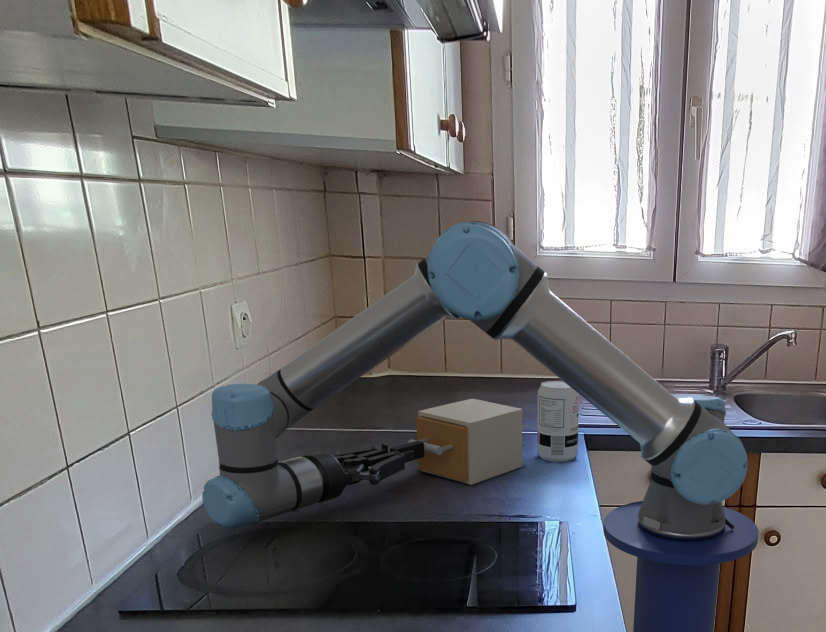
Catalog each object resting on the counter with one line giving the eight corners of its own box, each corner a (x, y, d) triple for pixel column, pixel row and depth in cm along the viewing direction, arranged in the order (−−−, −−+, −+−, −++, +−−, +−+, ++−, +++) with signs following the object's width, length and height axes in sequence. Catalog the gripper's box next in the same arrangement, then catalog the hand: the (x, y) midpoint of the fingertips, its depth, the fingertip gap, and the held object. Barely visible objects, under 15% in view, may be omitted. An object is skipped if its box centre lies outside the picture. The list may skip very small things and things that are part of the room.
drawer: (447, 487, 146) (445, 433, 142) (400, 474, 151) (397, 421, 147) (512, 464, 160) (512, 415, 157) (467, 453, 166) (466, 405, 162)
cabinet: (471, 485, 150) (469, 422, 146) (420, 471, 156) (417, 411, 152) (522, 466, 162) (522, 408, 158) (473, 454, 168) (472, 398, 164)
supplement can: (531, 453, 171) (531, 381, 166) (568, 449, 175) (569, 379, 170) (545, 464, 165) (546, 389, 159) (583, 460, 169) (585, 387, 163)
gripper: (283, 494, 131) (395, 461, 150) (340, 512, 125) (449, 476, 144) (278, 448, 128) (393, 421, 148) (337, 465, 122) (448, 435, 142)
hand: (420, 448), depth 146 cm, fingers closed
